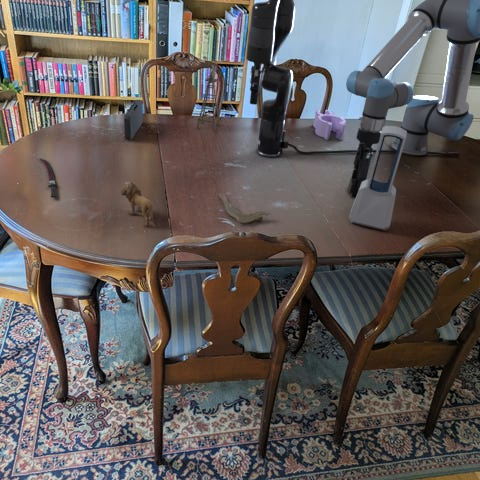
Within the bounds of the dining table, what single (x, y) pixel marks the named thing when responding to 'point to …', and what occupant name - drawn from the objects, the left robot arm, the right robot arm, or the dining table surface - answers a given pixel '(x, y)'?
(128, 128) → the handheld gaming console
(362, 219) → the electronic device
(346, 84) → the right robot arm
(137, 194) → the lion figurine
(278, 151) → the left robot arm
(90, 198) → the dining table surface
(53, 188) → the sword
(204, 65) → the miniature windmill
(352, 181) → the block
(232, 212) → the jawbone
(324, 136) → the clip
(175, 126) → the dining table surface
